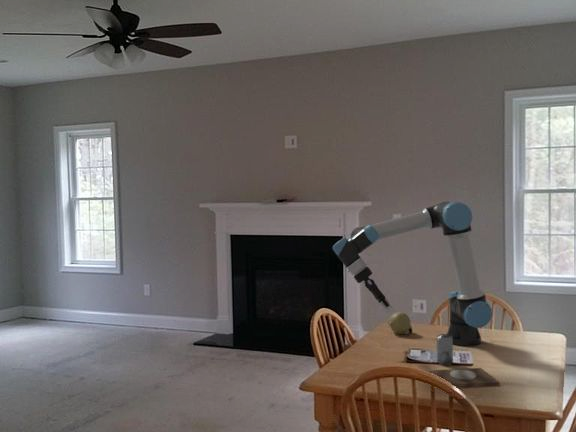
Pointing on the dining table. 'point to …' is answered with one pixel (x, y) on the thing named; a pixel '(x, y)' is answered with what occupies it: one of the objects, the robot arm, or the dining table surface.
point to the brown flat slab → (467, 377)
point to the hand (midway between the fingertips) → (391, 312)
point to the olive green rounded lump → (400, 323)
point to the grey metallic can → (444, 349)
